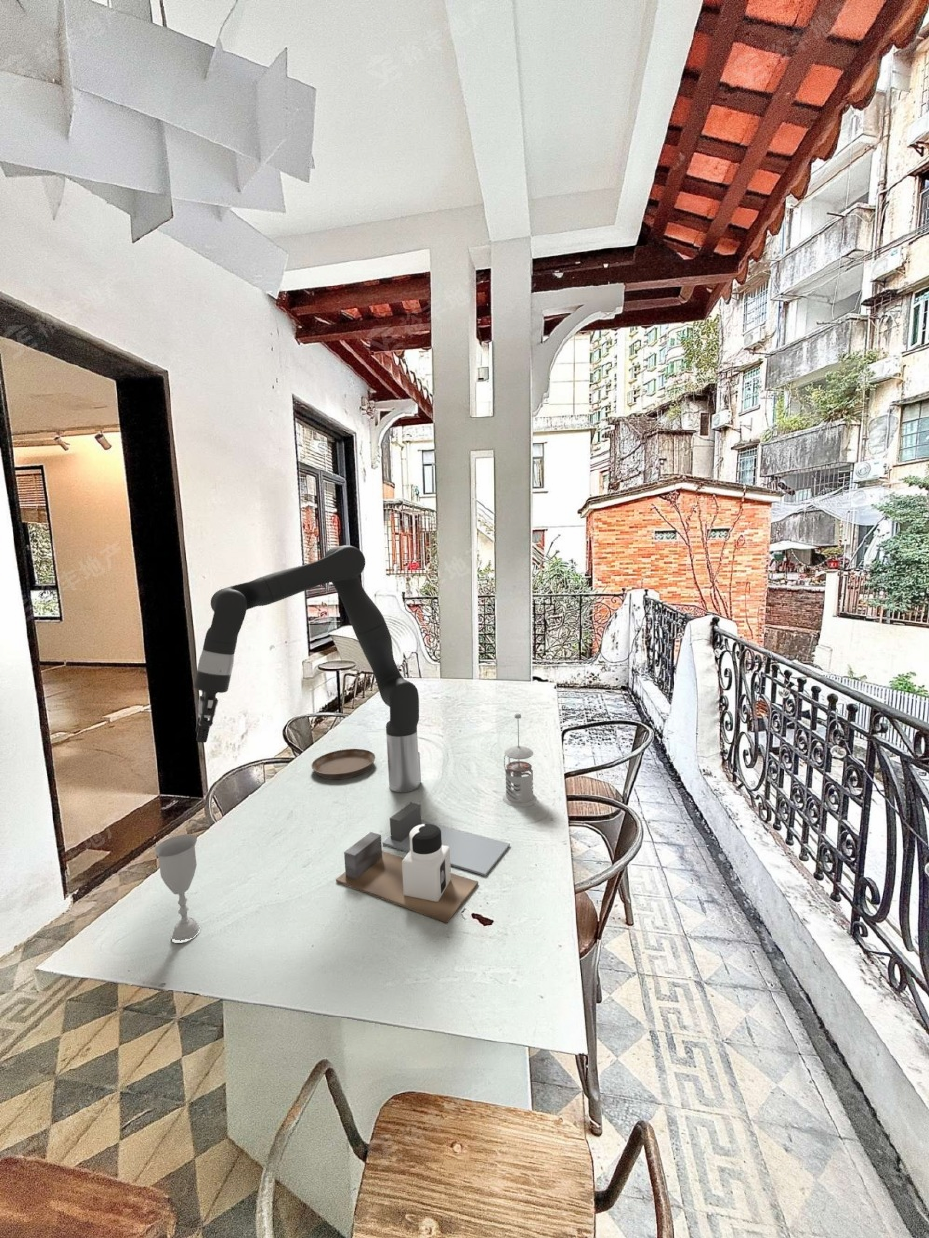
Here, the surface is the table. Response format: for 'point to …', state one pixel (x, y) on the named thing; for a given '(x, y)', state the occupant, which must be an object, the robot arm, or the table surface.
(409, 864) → the container
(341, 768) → the plant saucer
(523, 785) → the french press
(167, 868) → the chalice
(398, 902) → the brown board
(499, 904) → the table surface
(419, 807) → the grey board with block
